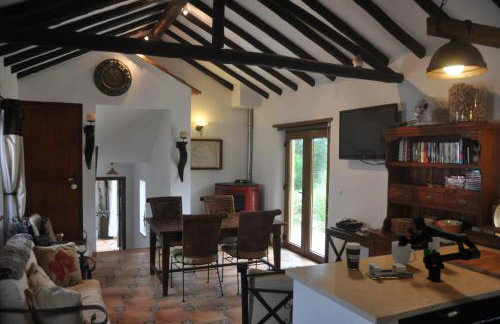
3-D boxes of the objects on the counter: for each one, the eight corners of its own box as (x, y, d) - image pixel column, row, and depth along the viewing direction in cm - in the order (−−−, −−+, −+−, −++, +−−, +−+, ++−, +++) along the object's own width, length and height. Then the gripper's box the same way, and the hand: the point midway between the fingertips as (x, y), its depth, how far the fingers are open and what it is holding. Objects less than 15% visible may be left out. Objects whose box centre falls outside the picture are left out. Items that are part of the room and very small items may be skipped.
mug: (419, 265, 243) (420, 244, 243) (411, 269, 236) (412, 247, 235) (396, 260, 254) (396, 240, 254) (388, 263, 247) (388, 243, 246)
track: (413, 277, 221) (413, 266, 221) (372, 279, 218) (372, 268, 217) (404, 272, 230) (404, 261, 230) (365, 274, 227) (365, 263, 226)
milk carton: (442, 264, 246) (442, 232, 245) (431, 265, 242) (432, 233, 242) (430, 260, 254) (430, 229, 253) (420, 262, 250) (420, 230, 250)
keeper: (405, 274, 222) (406, 266, 222) (397, 274, 221) (397, 266, 221) (400, 271, 228) (400, 263, 228) (392, 271, 227) (392, 263, 227)
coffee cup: (343, 269, 235) (343, 244, 235) (347, 265, 244) (347, 241, 243) (359, 272, 231) (359, 246, 230) (362, 267, 239) (362, 243, 239)
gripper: (432, 227, 231) (415, 236, 244) (404, 222, 227) (388, 232, 240) (436, 245, 225) (418, 254, 238) (408, 240, 221) (391, 249, 233)
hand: (404, 247), depth 237 cm, fingers open, 9 cm apart
